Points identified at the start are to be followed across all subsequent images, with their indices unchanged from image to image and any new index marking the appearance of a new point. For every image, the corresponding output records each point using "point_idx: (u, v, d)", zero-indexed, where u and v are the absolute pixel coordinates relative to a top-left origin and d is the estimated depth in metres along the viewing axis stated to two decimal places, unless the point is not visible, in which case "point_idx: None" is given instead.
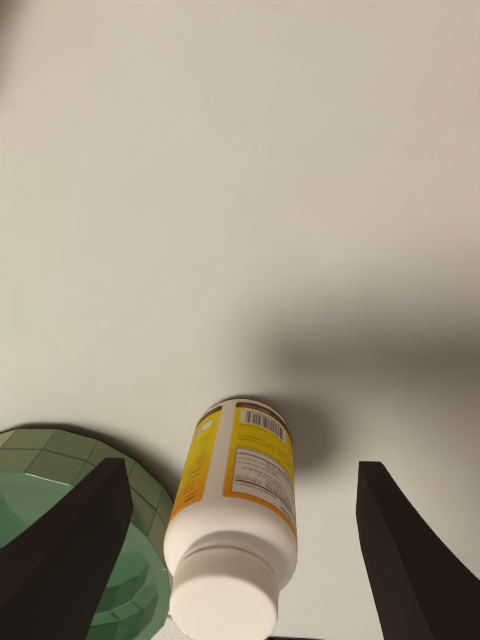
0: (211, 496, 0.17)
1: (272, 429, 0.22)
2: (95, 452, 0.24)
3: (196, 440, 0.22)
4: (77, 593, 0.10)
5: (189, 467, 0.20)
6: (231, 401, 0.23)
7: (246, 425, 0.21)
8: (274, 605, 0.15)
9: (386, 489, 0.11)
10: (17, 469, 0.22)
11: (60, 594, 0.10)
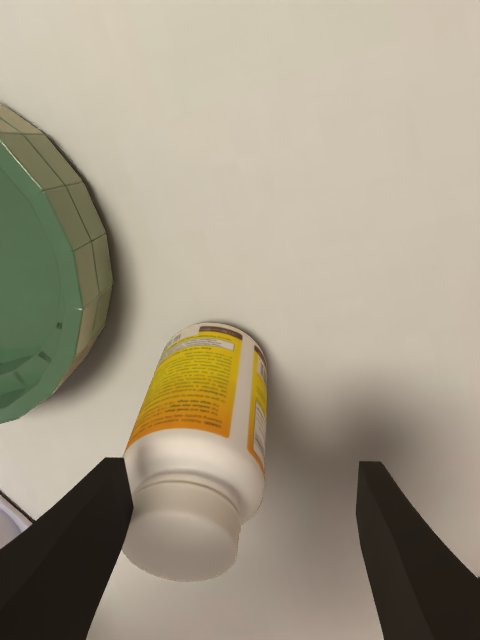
0: (238, 442, 0.15)
1: None
2: (99, 241, 0.20)
3: (208, 350, 0.19)
4: (77, 593, 0.10)
5: (204, 379, 0.17)
6: (250, 338, 0.21)
7: (261, 379, 0.20)
8: (225, 570, 0.15)
9: (386, 489, 0.11)
10: (38, 178, 0.16)
11: (60, 594, 0.10)
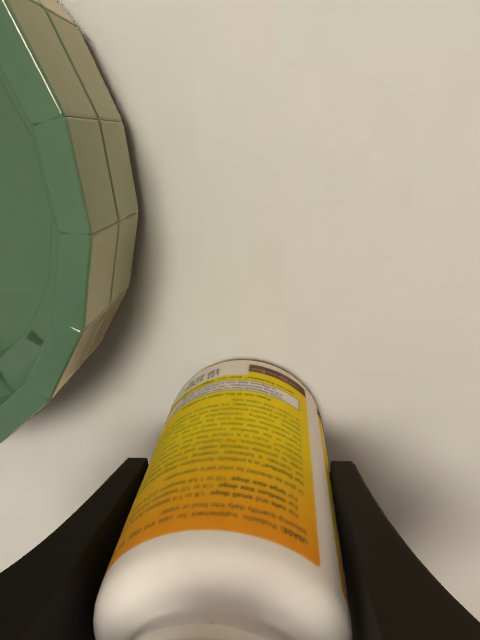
0: (331, 576, 0.09)
1: None
2: (128, 223, 0.12)
3: (267, 402, 0.13)
4: None
5: (269, 447, 0.11)
6: (312, 397, 0.15)
7: (327, 460, 0.13)
8: None
9: (353, 488, 0.11)
10: (58, 92, 0.09)
11: (91, 595, 0.10)
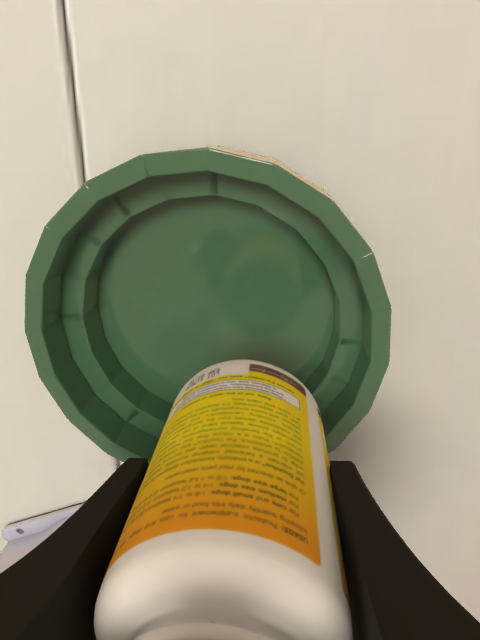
0: (333, 575, 0.09)
1: None
2: None
3: (268, 401, 0.13)
4: None
5: (269, 446, 0.11)
6: (312, 396, 0.15)
7: (328, 460, 0.13)
8: None
9: (353, 488, 0.11)
10: (387, 296, 0.17)
11: (91, 595, 0.10)
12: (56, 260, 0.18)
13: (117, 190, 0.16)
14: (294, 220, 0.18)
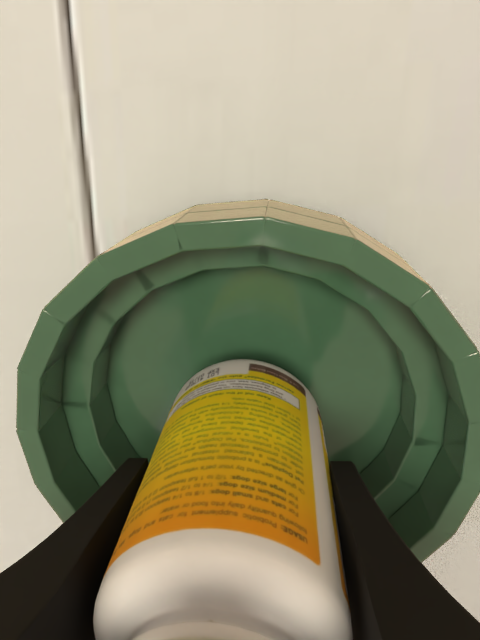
0: (332, 575, 0.09)
1: None
2: None
3: (267, 400, 0.13)
4: None
5: (269, 446, 0.11)
6: (312, 396, 0.15)
7: None
8: None
9: (353, 488, 0.11)
10: None
11: (91, 596, 0.10)
12: (57, 348, 0.14)
13: (139, 267, 0.12)
14: (366, 299, 0.14)
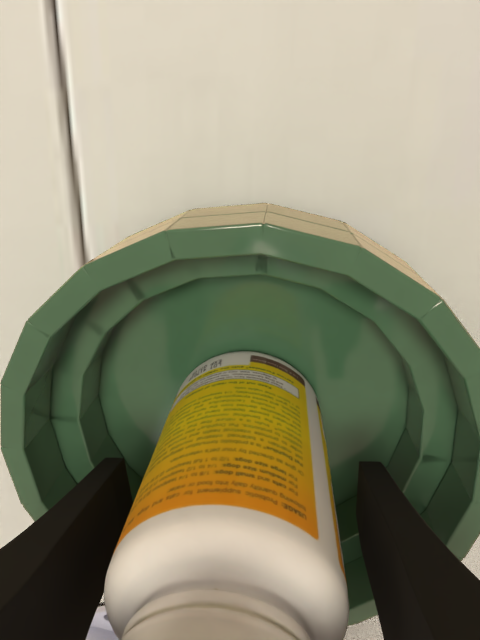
0: (330, 549, 0.09)
1: None
2: None
3: (268, 390, 0.13)
4: (77, 593, 0.10)
5: (270, 431, 0.11)
6: (311, 387, 0.15)
7: (326, 447, 0.14)
8: None
9: (386, 489, 0.11)
10: None
11: (60, 594, 0.10)
12: (43, 361, 0.13)
13: (129, 277, 0.11)
14: (371, 309, 0.13)
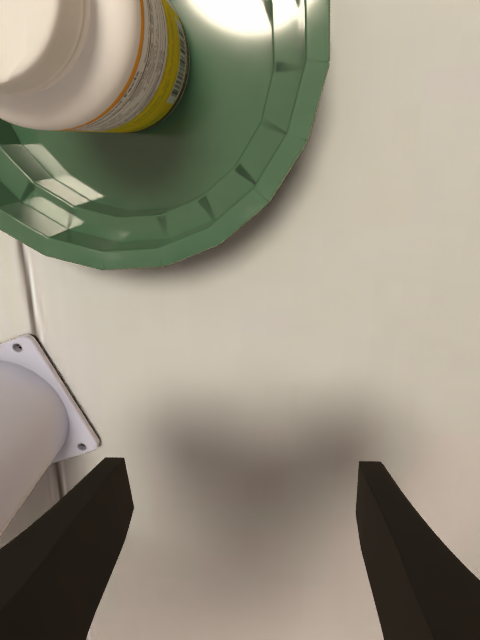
0: None
1: (179, 74, 0.16)
2: None
3: None
4: (77, 593, 0.10)
5: None
6: (176, 12, 0.16)
7: (176, 26, 0.15)
8: (35, 62, 0.09)
9: (386, 489, 0.11)
10: None
11: (60, 594, 0.10)
12: None
13: None
14: None
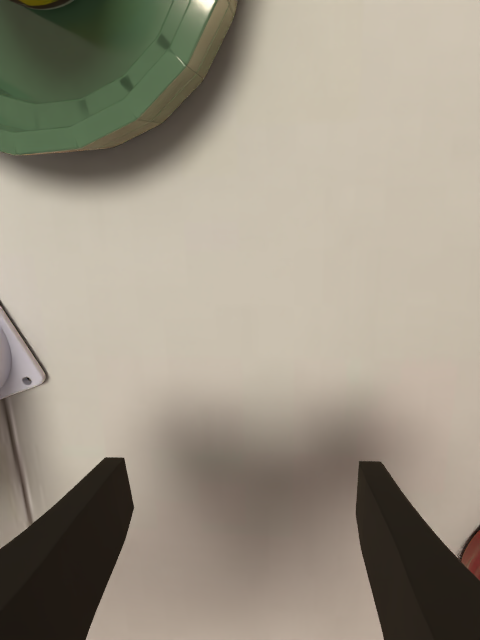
0: None
1: None
2: None
3: None
4: (77, 593, 0.10)
5: None
6: None
7: None
8: None
9: (386, 489, 0.11)
10: None
11: (60, 594, 0.10)
12: None
13: None
14: None
